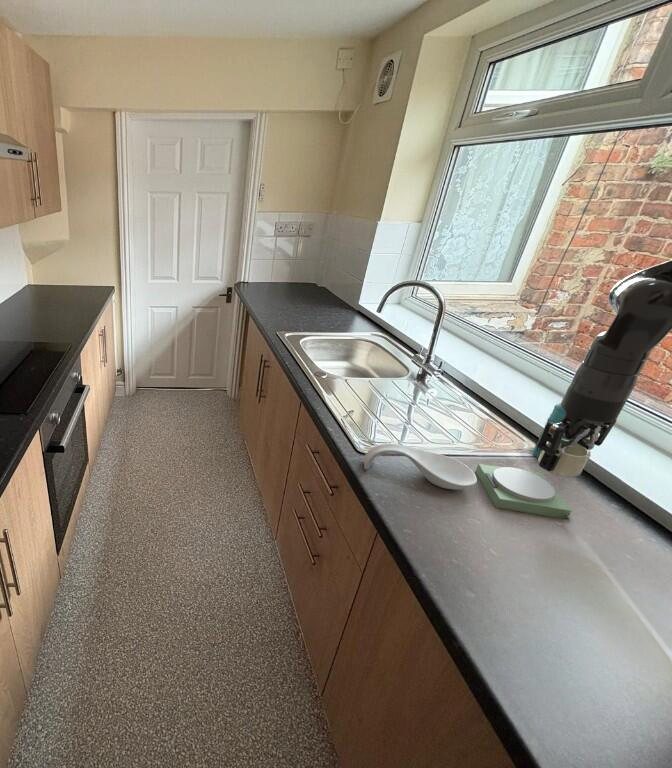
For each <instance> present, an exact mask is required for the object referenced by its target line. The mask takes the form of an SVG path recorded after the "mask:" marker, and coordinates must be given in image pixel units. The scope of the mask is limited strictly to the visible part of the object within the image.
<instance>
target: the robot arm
mask: <svg viewBox="0 0 672 768" xmlns="http://www.w3.org/2000/svg"><path fill="white" fill-rule="evenodd" d="M607 301H608V305H609V307H610V308H611V309H612V310H613V311H614V312H615V313H616V315H615V317H614V319H613V321H612V322H611V323H610V325H609V327H608V329H607V330H606V331H602V332H600V333H598V334H597V335H596V336H595V338H594V339H593V341H592V342H591V344H590V347H589V348H588V350H587V352H586V354H585V357H584V358H583V360H582V363H581V364H580V365H579V367H578V368H577V370H576V371H575V373H574V374H573V377H572V379H571V381H570V383H569V385H568V387H567V389H566V392H565V394H564V396H563V397H562V400H561V402H560V403H561V407H562V409H563V410H564V411H565V413H566V415H565V416H564V417H563V419H562V420H561V421H560V423H558V424H554V423H552V422H548V423H547V422H546V423H547V424H546V423H545V424H546V426H545V425H544V427H545V429H544V428H543V430H544V431H543V430H542V431H543V434H542V437H541V439H540V442H539V444H538V448H539V449H541V450H543V451H545V453H544V455H543V457H542V459H541V461H540V463H539V462H538V466H539V467H540V468H541V469H544V470H545V471H547V472H549V471H553V470H554V469H555V467H556V465H557V463H558V461H559V459H560V457H561V455H562V454H563V453H564V451H565V450H566V449H567V448H572V447H573V446H574V445H575V444H576V443H578V444H580V445H581V446H583V447H585V448H587V449H588V450H589V451H591V450H593V449H594V448H595V446H597V447H600V446H601V445H602V444H603V443H604V441H605V440H606V439H607V436H608V435H609V434H610V432H611V430H612V429H613V427H614V425H615V424H616V423H617V420H618V417H619V416H620V413H621V412H622V410H623V408H624V407H625V404H626V403H627V401H628V400H629V397H630V396H631V394H632V393H633V390H634V389H635V387H636V385H637V382H638V378H639V376H640V373H641V372H642V370H643V368H644V367H645V366H646V363H647V361H648V359H649V357H650V355H651V353H652V351H653V350H654V348H655V347H657V346H658V345H659V344H660V343H661V342H662V341H663V340H664V339H665V338H666V337H667V335H668V334H669V333H670V332H671V331H672V259H670V260H668V261H665V262H662V263H659V264H655V265H653V266H650V267H647V268H644V269H642V270H639V271H637V272H635V273H632V274H630V275H628V276H626V277H624V278H623V279H622V280H620V281H618V282H617V283H616V284H615V285H614V286H613V287H612V288H611V289H610V291H609V293H608V296H607ZM563 437H565V438H567V439H569V440H570V441H565V440H563V439H562V438H563ZM547 441H548V443H547ZM546 443H547V444H546ZM560 443H561V444H562V445H561V447H560V448H559V449H558V447H559V445H560Z"/></svg>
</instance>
